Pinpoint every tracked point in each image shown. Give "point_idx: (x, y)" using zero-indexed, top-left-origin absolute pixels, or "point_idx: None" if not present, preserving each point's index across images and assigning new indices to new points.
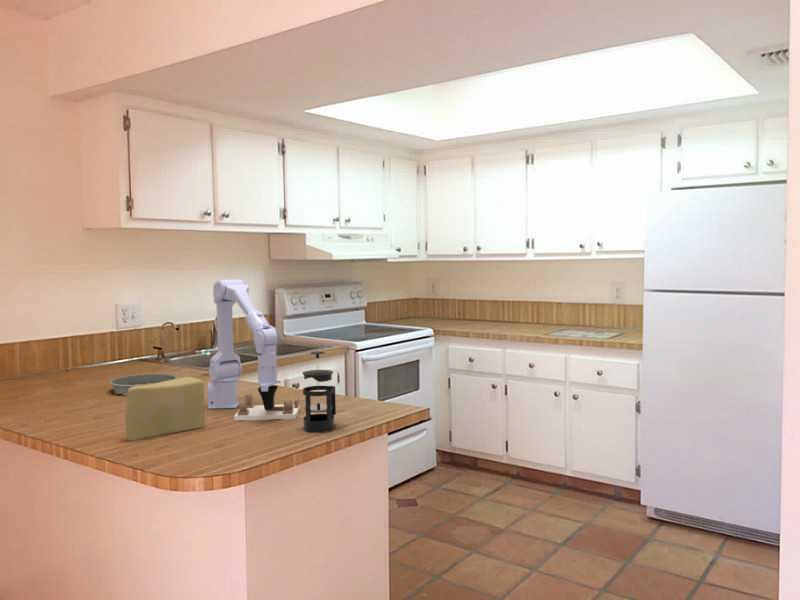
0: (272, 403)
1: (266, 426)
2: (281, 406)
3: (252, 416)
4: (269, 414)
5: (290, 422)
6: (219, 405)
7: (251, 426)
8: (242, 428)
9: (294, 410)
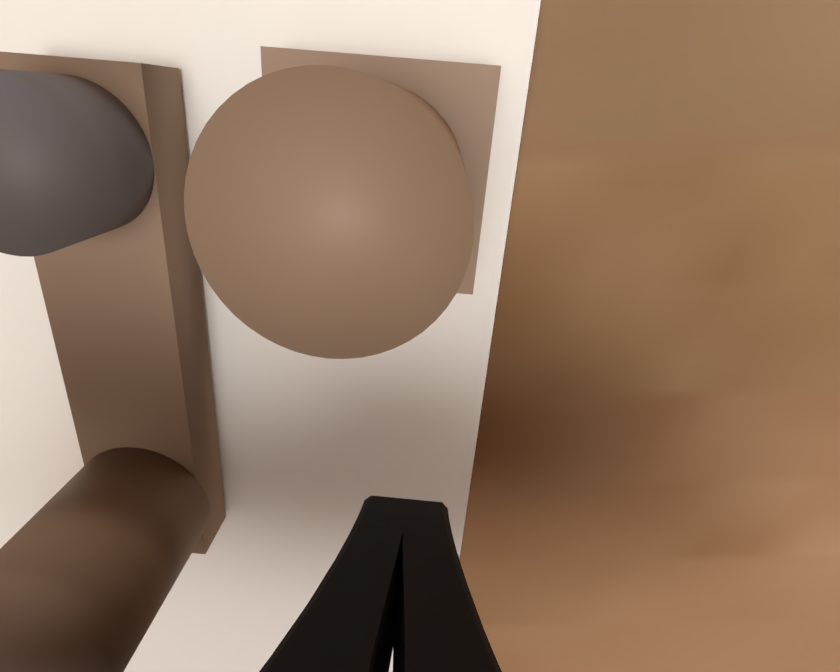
0: (468, 593)
1: (824, 454)
2: (72, 328)
3: None
4: (430, 473)
5: (741, 106)
6: None
7: (735, 596)
8: (782, 662)
9: (155, 29)
